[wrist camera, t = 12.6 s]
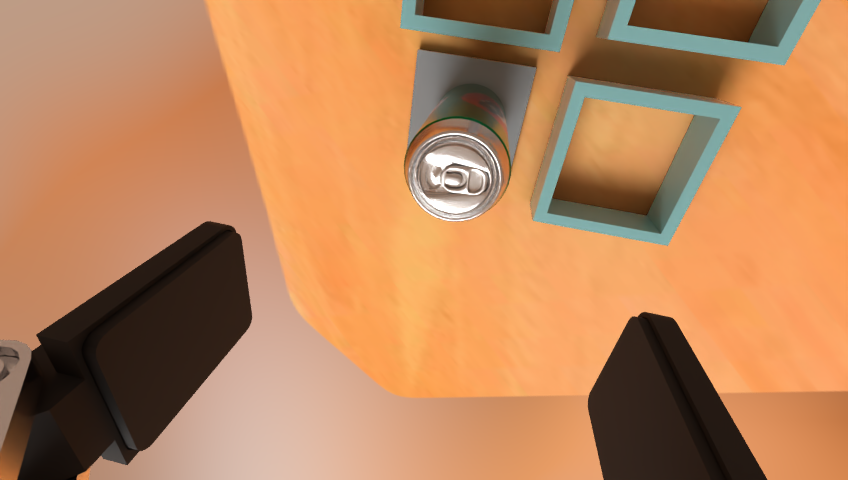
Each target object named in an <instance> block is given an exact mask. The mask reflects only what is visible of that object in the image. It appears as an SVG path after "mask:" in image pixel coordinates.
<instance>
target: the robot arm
mask: <svg viewBox="0 0 848 480" xmlns="http://www.w3.org/2000/svg"><path fill="white" fill-rule="evenodd" d="M251 320H252V311H251V304H250V297H249V291H248V282H247V275H246V268H245V261H244V254H243V246H242V240H241V236H240V235H239V234H238V233H236V230H235V229H234V228H233V227H232V226H229V225H225V224H220V223H215V222H211V221H210V222H205V223H203V224H201V225H200V226H198V227H197V228H196V229H194V230H192V231H191V232H189V233H188V234H186V235H185V236H183V237H182V238H181V239H179V240H177V241H176V242H175V243H173V244H171V245H170V246H168V247H167V248H165V249H164V250H162V251H161V252H159V253H158V254H157V255H155V256H153V257H152V258H151V259H149V260H147V261H146V262H144V263H143V264H141V265H140V266H138V267H137V268H135V269H134V270H132V271H131V272H129V273H128V274H126V275H125V276H123V277H122V278H120V279H119V280H117V281H116V282H114V283H113V284H111V285H110V286H109V287H107V288H106V289H104V290H102V291H101V292H100V293H98V294H97V295H95V296H94V297H92V298H91V299H89V300H87V301H86V302H85V303H83V304H81V305H80V306H79V307H77V308H75V309H74V310H73V311H71V312H70V313H68V314H67V315H65V316H64V317H62V318H61V319H59V320H58V321H56V322H55V323H53V324H52V325H50V326H49V327H47V328H46V329H44V330H43V331H41V332H40V333H38V334H37V337H38V339H39V341H40V343H41V345H40V346H39V347H37V348H36V349H35V350H33V351H31V349H30V348H29V347H28V346H27V344H24V343H22V342H19V341H15V340H0V480H89V475H90V468H91V465H92V464H93V463H94V462H95V461H96V460H97V459H98V458H99V457H100V456H102V457H103V459H106V460H110V461H114V462H118V463H121V464H125V465H128V464H129V463H130V461H131V460H132V459H133V458H134V457H135V456H136V454H137V453H138V452H139V451H143V450H145V449H147V448H148V447H150V445H151V444H152V443H153V442H154V441H155V440H156V439H157V438H158V436H159V435H160V434H161V433H162V432H163V430H164V429H165V428H166V427H167V426H168V424H169V423H170V422H171V421H172V419H173V418H174V417H175V416H176V415H177V414H178V412H179V411H180V410H181V409H182V407H183V406H184V405H185V404H186V403H187V402H188V400H189V399H190V398H191V397H192V396H193V394H194V393H195V392H196V391H197V390H198V388H199V387H200V386H201V385H202V383H203V382H204V381H205V380H206V379H207V378H208V376H209V375H210V374H211V373H212V371H213V370H214V369H215V368H216V367H217V366H218V364H219V363H220V362H221V361H222V359H223V358H224V357H225V356H226V355H227V354H228V352H229V351H230V350H231V349H232V348H233V346H234V345H235V344H236V343H237V342H238V340H239V339H240V338H241V336H242V335H243V334H244V333H245V332H246V330H247V329H248V328H249V326H250V324H251ZM588 410H589V415H590V419H591V424H592V428H593V433H594V437H595V442H596V447H597V451H598V456H599V460H600V465H601V469H602V474H603V478H604V480H767V478H766V476H765V475H764V473H763V471H762V470H761V468H760V466H759V464H758V463H757V461H756V459H755V457H754V456H753V454H752V452H751V451H750V449H749V447H748V445H747V444H746V442H745V440H744V438H743V437H742V435H741V433H740V432H739V430H738V428H737V426H736V425H735V423H734V421H733V419H732V418H731V416H730V414H729V413H728V411H727V409H726V407H725V406H724V404H723V402H722V401H721V399H720V397H719V395H718V393H717V392H716V390H715V388H714V387H713V385H712V383H711V381H710V380H709V378H708V376H707V374H706V373H705V371H704V369H703V368H702V366H701V364H700V362H699V361H698V359H697V357H696V355H695V354H694V352H693V350H692V348H691V347H690V345H689V343H688V342H687V340H686V338H685V336H684V335H683V333H682V331H681V329H680V328H679V326H678V324H677V323H676V321H675V320H674V319H673V318H671V317H666V316H662V315H657V314H652V313H647V312H643V313H641V314H640V315H639V316H638V317H632V318H630V320H629V321H628V323H627V325H626V327H625V328H624V330H623V332H622V334H621V336H620V338H619V340H618V342H617V343H616V345H615V347H614V349H613V351H612V353H611V355H610V356H609V358H608V360H607V362H606V364H605V366H604V368H603V370H602V371H601V373H600V375H599V377H598V379H597V381H596V383H595V385H594V386H593V388H592V390H591V392H590V394H589V398H588Z"/></svg>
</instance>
